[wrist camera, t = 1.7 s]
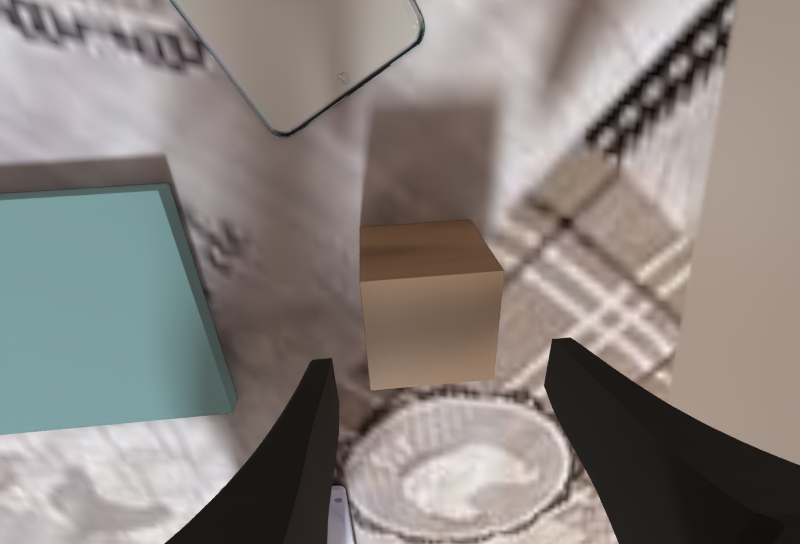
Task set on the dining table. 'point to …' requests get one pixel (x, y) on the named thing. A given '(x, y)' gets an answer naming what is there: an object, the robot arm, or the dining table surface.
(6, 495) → the dining table surface
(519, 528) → the dining table surface
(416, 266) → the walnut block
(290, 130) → the smartphone
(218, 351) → the teal square plate
